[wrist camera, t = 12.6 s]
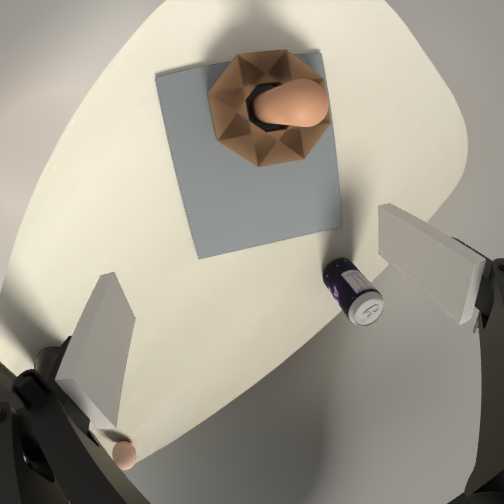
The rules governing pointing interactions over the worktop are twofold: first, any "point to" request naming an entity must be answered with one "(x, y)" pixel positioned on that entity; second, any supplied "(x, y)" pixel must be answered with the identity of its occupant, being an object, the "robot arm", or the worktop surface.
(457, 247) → the robot arm
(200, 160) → the mat
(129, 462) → the egg
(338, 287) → the beverage can
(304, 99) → the tan round-topped peg
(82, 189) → the worktop surface
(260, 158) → the bead
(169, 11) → the worktop surface
